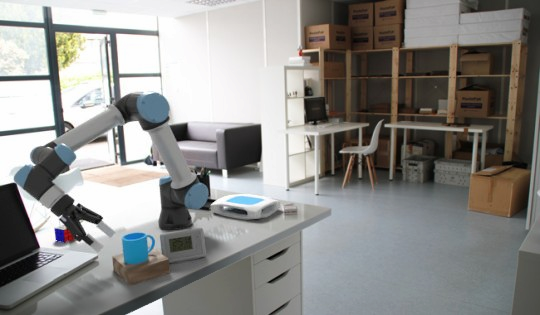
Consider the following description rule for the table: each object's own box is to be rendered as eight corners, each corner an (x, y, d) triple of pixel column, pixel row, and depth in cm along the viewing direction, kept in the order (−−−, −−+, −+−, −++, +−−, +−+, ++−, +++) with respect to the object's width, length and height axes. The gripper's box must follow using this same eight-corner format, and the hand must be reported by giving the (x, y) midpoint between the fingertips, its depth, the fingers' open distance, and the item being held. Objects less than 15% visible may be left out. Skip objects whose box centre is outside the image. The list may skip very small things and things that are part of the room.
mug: (132, 265, 146) (130, 242, 145) (119, 260, 151) (116, 237, 150) (162, 254, 155) (160, 232, 154) (148, 249, 160) (146, 227, 159)
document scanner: (236, 203, 236) (235, 192, 235) (280, 210, 221) (280, 198, 220) (210, 213, 219) (209, 201, 218) (256, 222, 204) (256, 209, 203)
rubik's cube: (67, 236, 192) (65, 224, 191) (76, 238, 189) (74, 225, 188) (55, 241, 187) (54, 228, 186) (64, 242, 184) (63, 229, 183)
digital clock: (161, 265, 158) (158, 237, 156) (162, 256, 167) (160, 229, 165) (206, 261, 161) (205, 233, 159) (205, 251, 170) (204, 225, 168)
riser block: (113, 269, 156) (112, 256, 155) (151, 258, 164) (150, 246, 163) (130, 285, 143) (128, 270, 143) (169, 272, 152) (168, 259, 151)
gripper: (65, 199, 161) (111, 236, 164) (32, 221, 136) (87, 264, 140) (78, 184, 160) (124, 222, 163) (48, 203, 136) (102, 247, 139)
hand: (107, 241), depth 151 cm, fingers open, 13 cm apart
